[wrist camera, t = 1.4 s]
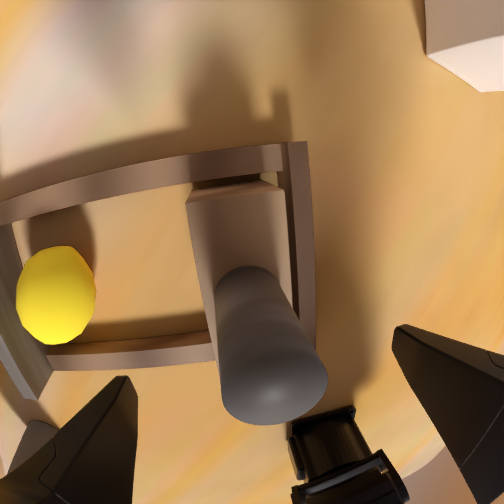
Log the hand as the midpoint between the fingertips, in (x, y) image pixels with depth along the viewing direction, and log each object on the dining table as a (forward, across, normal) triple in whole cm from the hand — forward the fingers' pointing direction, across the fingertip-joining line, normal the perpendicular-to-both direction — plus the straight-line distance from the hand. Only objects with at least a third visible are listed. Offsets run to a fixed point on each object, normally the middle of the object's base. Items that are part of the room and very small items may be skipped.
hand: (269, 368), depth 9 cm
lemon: (+10, +12, 0) cm, 16 cm away
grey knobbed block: (+10, 0, 0) cm, 10 cm away
